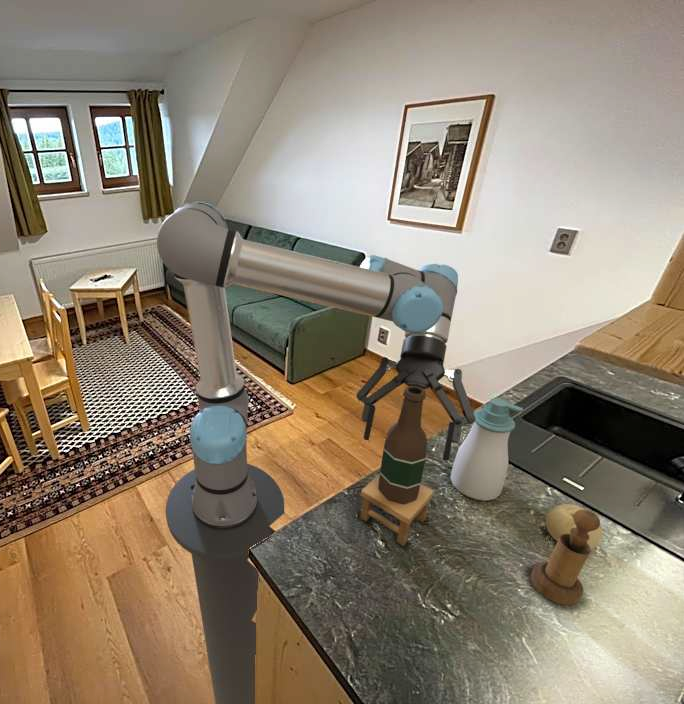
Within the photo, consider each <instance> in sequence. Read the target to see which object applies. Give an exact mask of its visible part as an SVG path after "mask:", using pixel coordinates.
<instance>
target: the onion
mask: <svg viewBox="0 0 684 704" xmlns="http://www.w3.org/2000/svg"><path fill="white" fill-rule="evenodd" d="M583 509H585V510H587V509H586V508H583V507H582V506H578V505H576V504H572V503H562V504H558V505H555V506H554V507H552V508H551V509H550V510H549V511H548V513H547V515H546V517H545V522H544V523H545V527H546V530H547V532H548V533H549V534H550V536H551V537H552V538H553V539H554V540H555V541H556V542H558V540H559V537H560V536H561V535H562V534H570V530H571V529H572V528H576V525H575V522H574V519H573V516H574V514H575V512H576V511H578V510H583ZM588 535H589V537H590V538H589V540H588V541H587V543H588V545H589V546H590V548H591V550H593V549H594V548H596V547H598V545H599V544H600V542H601V540H602V537H603V529H602V526H601V524H600V526H599V528H598V529H596V530H594V531H590V532H588Z"/></svg>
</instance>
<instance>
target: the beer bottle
mask: <svg viewBox="0 0 684 704" xmlns="http://www.w3.org/2000/svg"><path fill="white" fill-rule="evenodd" d="M426 395H427V394H426V389H421V388H420V387H415V386H410V387H409V386H406V387H405V388H404V390H403V393H402V396H403V401H402V404H401V405H402V406H401V409H400V414H399V417H398V420H397V421H396V422H395V423H394V424H393V425H390V427H389V429H388V430H387V432H386V435H385V440H384V444H383V451H382V456H381V465H380V472H379V473H380V477H379V487H378V489H379V491H380V492H381V493H382V494H383V495H384V496H385V497H386V498H387V499H388V500H390V501H393V502H396V503H400V504H403V505H404V504H407V503H409V502H412V501H415V500H417V497H418V493H419V488H420V484H422V478H423V474H424V469H425V465H426V464H425V463H426V459H427V449H428V437H427V433H426V432H425V431H424V429H423V428H422V412H423V405H424V400H426Z"/></svg>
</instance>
